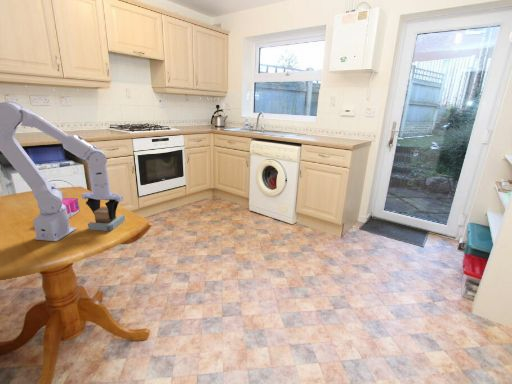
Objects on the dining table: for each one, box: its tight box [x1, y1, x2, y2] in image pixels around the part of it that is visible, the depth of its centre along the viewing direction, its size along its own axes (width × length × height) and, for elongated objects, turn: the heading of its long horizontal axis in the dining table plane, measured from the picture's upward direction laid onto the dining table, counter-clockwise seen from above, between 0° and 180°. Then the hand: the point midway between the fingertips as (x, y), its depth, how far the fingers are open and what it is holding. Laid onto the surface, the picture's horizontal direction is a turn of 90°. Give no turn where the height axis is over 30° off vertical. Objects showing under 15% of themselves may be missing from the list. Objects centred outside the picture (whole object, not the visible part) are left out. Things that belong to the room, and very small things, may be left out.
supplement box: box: [62, 197, 81, 220], centre depth 108 cm, size 6×6×12 cm
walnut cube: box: [93, 206, 117, 224], centre depth 103 cm, size 5×5×5 cm
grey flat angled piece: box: [87, 214, 126, 232], centre depth 104 cm, size 10×8×2 cm
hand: (105, 217), depth 103 cm, fingers closed on walnut cube, 5 cm apart
